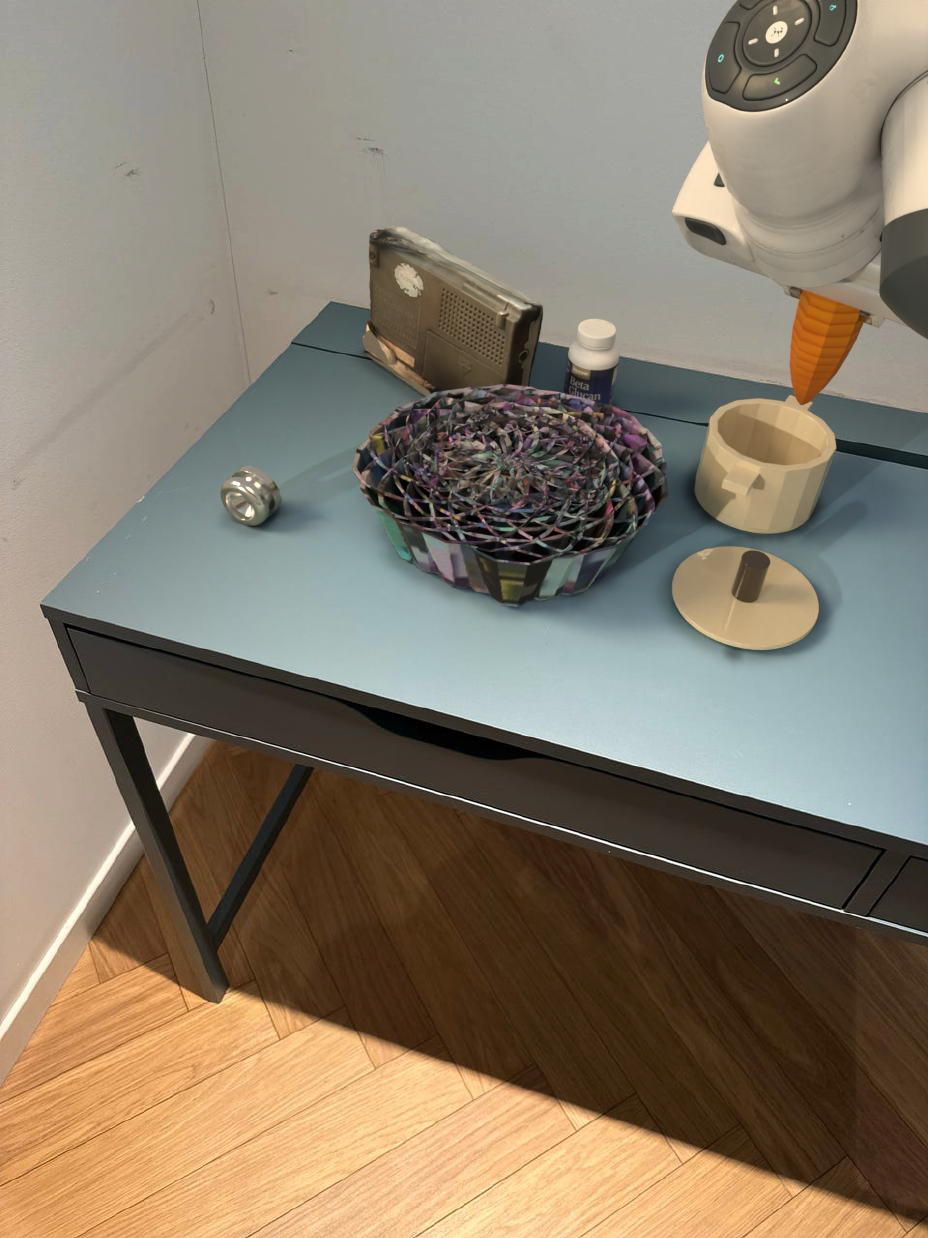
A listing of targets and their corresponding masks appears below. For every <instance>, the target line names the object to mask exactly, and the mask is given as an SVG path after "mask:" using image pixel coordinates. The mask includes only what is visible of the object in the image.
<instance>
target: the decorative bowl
mask: <svg viewBox="0 0 928 1238" xmlns="http://www.w3.org/2000/svg"><path fill="white" fill-rule="evenodd" d="M667 464H668V463H667V461H665V459H664V458H663V445H662V443H661V442H660V441H659V440H658V439H657V438H656V437H655V436H654V435H653V434H652V432H651V431H650V430H649V429H648V428H646V427H644V426H643V425H642V424H641V423H640V422H639V420H638V419H637V418H636V417H635V416H634V414H632V413H630V412H627V411H625V410H623V409H621V408H619V407H616V406H615V405H612V406H611V405H607V404H603V403H599V402H595V401H593V400H589V399H585V398H581V397H577V396H573V395H569V394H565V393H563V392H560V391H552V390H545V389H544V390H543V389H538V388H535V387H533V386H529V387H527V386H517V385H508V384H500V385H494V386H488V387H467V388H461V389H455V390H448V391H441V392H434V393H432V394H430V395H429V396H427V397H426V396H425V397H423V398H419V399H416V400H414V401H411V402H409V403H406V404H404V405H400V406H398V407H396V408H395V409H394V410H393V411H392V412H391V413H390V414H389V415H388V416H386V417H385V418H384V419H383V420H381V421H380V422H378V424H376V425H375V426H373V428H371V429H370V430H369V433H368V437H367V439H366V440H365V441H364V442H363V443H362V444H361V445H359V446H358V447H357V448H356V449H355V455H354V459H353V462H352V467H351V468H352V471H353V472H354V474H355V475H356V476H357V478H358V479H359V481H360V483H359V484H360V486H359V490H360V491H361V493H362V494H363V496H364V497H365V498H366V499H367V501H368V503H369V504H370V505H371V507H372V508H373V509H374V511H375V512H376V514H377V516H378V519H379V521H380V522H381V524H382V526H383V527H384V530H385V531H386V534H387V535H388V537H389V539H390V542H391V543H392V545H393V547H394V549H395V551H396V553H397V554H398V556H399V557H400V558H401V560H404V561H407V562H410V563H414V565H416V567H417V568H418V569H419V570H420V571H423V572H428V573H432V574H435V575H439V576H440V577H441V579H442V580H443V582H444V583H446V584H448V585H451V586H453V587H455V588H462V589H468V588H472V589H473V591H474V592H477V593H482V594H489V595H490V597H491V598H492V599H493V600H495V601H497V602H498V603H499V604H500V605H503V606H507V607H514V608H515V607H517V608H518V607H520V606H522V605H525V604H527V603H528V602H531V601H532V600H536V601H538V602H539V601H546V600H547V601H548V600H549V599H550V600H551V599H554V598H557V597H560V596H569V597H575V596H577V595H579V594H580V593H583V592H585V591H587V590H588V589H589V588H590V587H591V585H592V584H593V583H596V582H598V581H600V580H602V579H604V578H605V577H606V576H607V575H608V573H609V572H610V570H611V569H612V568H613V566H614V565H615V563H617V562H618V561H619V559H620V558H621V557H622V556H623V554H624V553H625V552H626V550H627V549H628V548H629V546H630V544H632V542H633V540H634V539H635V538H636V536H637V535H638V533H639V532H640V531H641V529H644V528H646V527H647V526H648V524H649V522H650V521H651V518H652V517H653V515H654V514H656V513H657V511H658V510H659V509H660V508H661V506H662V505H663V504H664V502H666V500H667V499H668V498H669V488H668V482H667V478H666V471H667Z"/></svg>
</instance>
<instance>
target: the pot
mask: <svg viewBox="0 0 928 1238" xmlns="http://www.w3.org/2000/svg"><path fill="white" fill-rule="evenodd" d="M812 406H813V402H812V401H810V402H809V403H807V404H804V405H800V404H799V403H798V401H797V400H796V398H795V395H792V394H789V395H788V397H787V398H786V399H785V400H784V401H782V400H776V399H769V398H758V397H757V398H746V399H737V400H733V401H731V402H729V403H727V404H724V405H721V406H720V407H718V408H717V410H716V411H714V413H713V414H712V415H711V416H710V418H709V421H708V425H707V428H706V433H705V436H704V441H703V444H702V445H703V446H702V449H701V453H700V457H699V462H698V466H697V471H696V474H695V482H694V494H695V498H696V501H697V502H698V503H699V505H700V506H701V508H702V509H703V510H704V511H705V512H706V513H707V514H709V516H711V517H712V518H713V519H715V520H716V521H719V522H720V523H722V524H724V525H727V526H728V527H731V528H734V529H737V530H740V531H744V532H748V533H753V534H761V535H762V534H766V535H767V534H770V535H771V534H781V533H786V532H790V531H793V530H795V529H797V528H799V527H801V526H803V525H804V524H805V523H806V522H807V521H808V520H809V519H810V518H811V516H812V514H813V513H814V510H815V508H816V506H817V504H818V501H819V498H820V495H821V492H822V490H823V487H824V484H825V481H826V480H827V479H826V478H827V476H828V473H829V470H830V467H831V465H832V462H833V460H834V457H835V453H836V450H837V440H836V434H835V432H834V431H833V430H832V429H831V427H829V425H828V424H827V423H826V422H825V420H824V419H822V418H821V417H819V416H818V415H816V414H814V413H813V412H811V410H812Z"/></svg>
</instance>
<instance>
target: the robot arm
mask: <svg viewBox="0 0 928 1238" xmlns="http://www.w3.org/2000/svg"><path fill="white" fill-rule="evenodd" d="M700 85H701V87H700V89H701V90H700V95H701V96H700V97H701V99H700V100H701V106H702V116H703V122H704V126H705V129H706V130H705V132H706V135H707V139H708V140H707V141H706V143H705V145H704V146H703V147H702V149H701V150H700V153H699V154H698V156H697V157H696V160H695V161H694V163H693V164H692V166H691V169H690V170H689V172H688V174H687V176H686V178H685V180H684V182H683V184H682V186H681V187H680V190H679V193H678V195H677V197H676V199H675V201H674V204H673V207H672V209H671V215H672V217H673V219H674V221H675V222H676V223H677V225H678V227H679V230H680V232H681V235H682V237H683V238H684V240H685V241H686V243H687V244H688V245H689V246H690V247H691V248H692V249H693V250H695V251H696V252H698V253H699V254H702V255H704V256H706V257H709V258H712V259H715V260H718V261H721V262H723V263H727V264H729V265H733V266H735V267H738V268H740V269H744V270H746V271H749V272H752V273H755V274H758V275H761V276H762V277H766V278H769V279H771V280H772V281H774V282H775V283H776V284H778V285H779V286H780V287H782V289H783V293H784V295H786V296H789V297H791V298H793V299H797V300H799V299H800V295H801V293H802V289H803V290H805V291H808V292H811V293H814V294H817V295H820V296H822V297H825V298H828V299H831V300H834V301H837V302H839V303H842V304H845V305H848V306H851V307H854V308H856V309H859V310H860V311H859V313H858V314H859V317H860V321H861V322H864V323H863V324H867V325H870V326H872V327H874V328H878V329H880V328H881V327H882V325H883V324H884V322H885V320H888V321H890V322H894V323H897V324H898V325H899V324H900V325H902V326H905V327H907V328H910V329H911V330H912V331H914V332H915V333H917V334H918V335H919V336H921V337H923V338H924V339H926V340H928V0H735V2H734V3H732V4H731V6H730V8H729V9H728V10H727V12H726V13H725V15H724V16H723V18H722V20H721V21H720V23H719V25H718V26H717V28H716V30H715V32H714V33H713V35H712V38H711V41H710V43H709V45H708V49H707V50H706V55H705V59H704V63H703V68H702V75H701V84H700Z"/></svg>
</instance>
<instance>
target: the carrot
mask: <svg viewBox="0 0 928 1238" xmlns="http://www.w3.org/2000/svg"><path fill="white" fill-rule="evenodd" d="M796 308H797V309H796V311H795V316H794V320H793V324H792V329H791V330H792V331H791V340H790V349H789V351H790V352H789V373H790V381H791V386H792V390H793V394H794V397H795V398H796V400H797V401H798V403H799V404H800V405H804V404H807V403H809V402H812V401H813V400H814V399H815V398H816V396H818V395H819V394H820V393H821V392H822V391H823V390H824V389H825V388H826V387H827V386H828V385H829V383H830V382H831V381H832V380H833V378H834V377H835V376H836V375H837V374H838V372H839V371H840V370H841V369H840V368H841V367H842V365H843V364H844V362H845V361H846V359H847V357H848V356H849V354H850V352H851V350H852V348H853V347H854V345H855V343H856V341H857V339H858V338H859V335H860V332H861V330H862V329H863V326H864V324H865V323H864V322H861V321H860V317H859V314H858V313H859V311H860V310H859V309H856V308H854V307H851V306H848V305H845V304H842V303H839V302H837V301H834V300H831V299H828V298H825V297H822V296H820V295H817V294H814V293H811V292H808V291H805V290H803V289H802V293H801V295H800V299H798V303H797V307H796Z"/></svg>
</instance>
